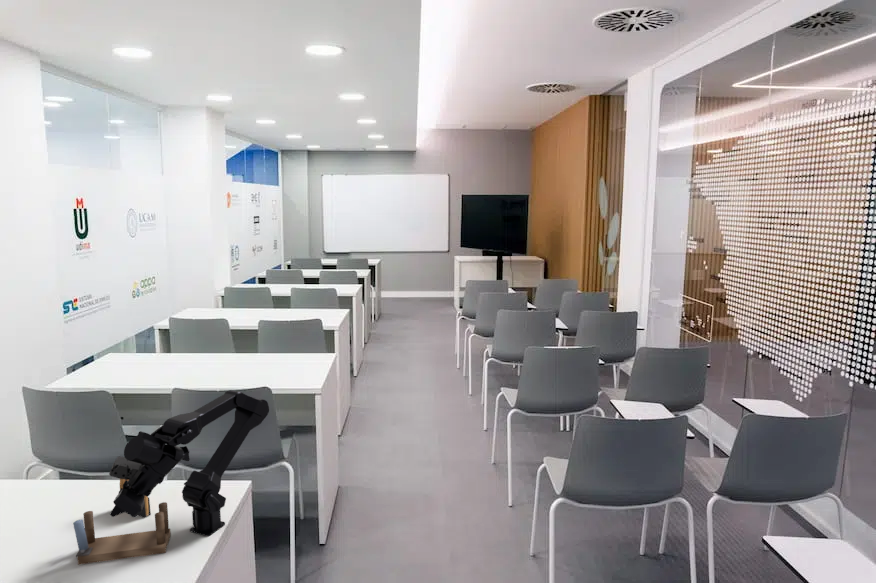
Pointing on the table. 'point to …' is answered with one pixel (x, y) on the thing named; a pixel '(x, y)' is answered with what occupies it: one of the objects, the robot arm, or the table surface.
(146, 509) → the ammunition clip
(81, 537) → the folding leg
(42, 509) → the table surface
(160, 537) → the stool
